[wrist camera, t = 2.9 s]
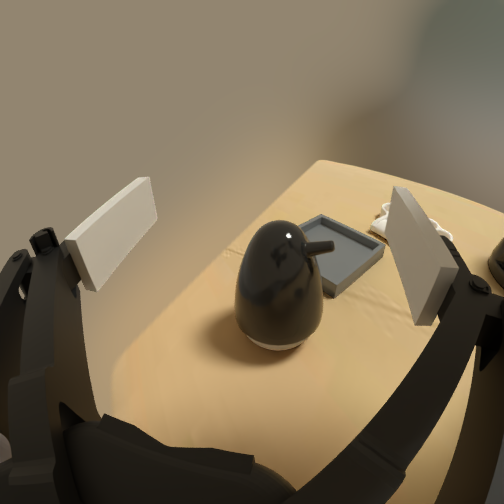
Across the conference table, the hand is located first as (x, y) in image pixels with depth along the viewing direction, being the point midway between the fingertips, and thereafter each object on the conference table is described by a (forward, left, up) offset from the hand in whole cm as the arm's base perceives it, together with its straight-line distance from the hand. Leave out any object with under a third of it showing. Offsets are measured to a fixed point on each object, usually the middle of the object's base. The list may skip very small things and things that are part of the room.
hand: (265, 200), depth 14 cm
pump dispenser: (-7, -6, -22) cm, 24 cm away
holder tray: (-24, -12, -22) cm, 35 cm away
